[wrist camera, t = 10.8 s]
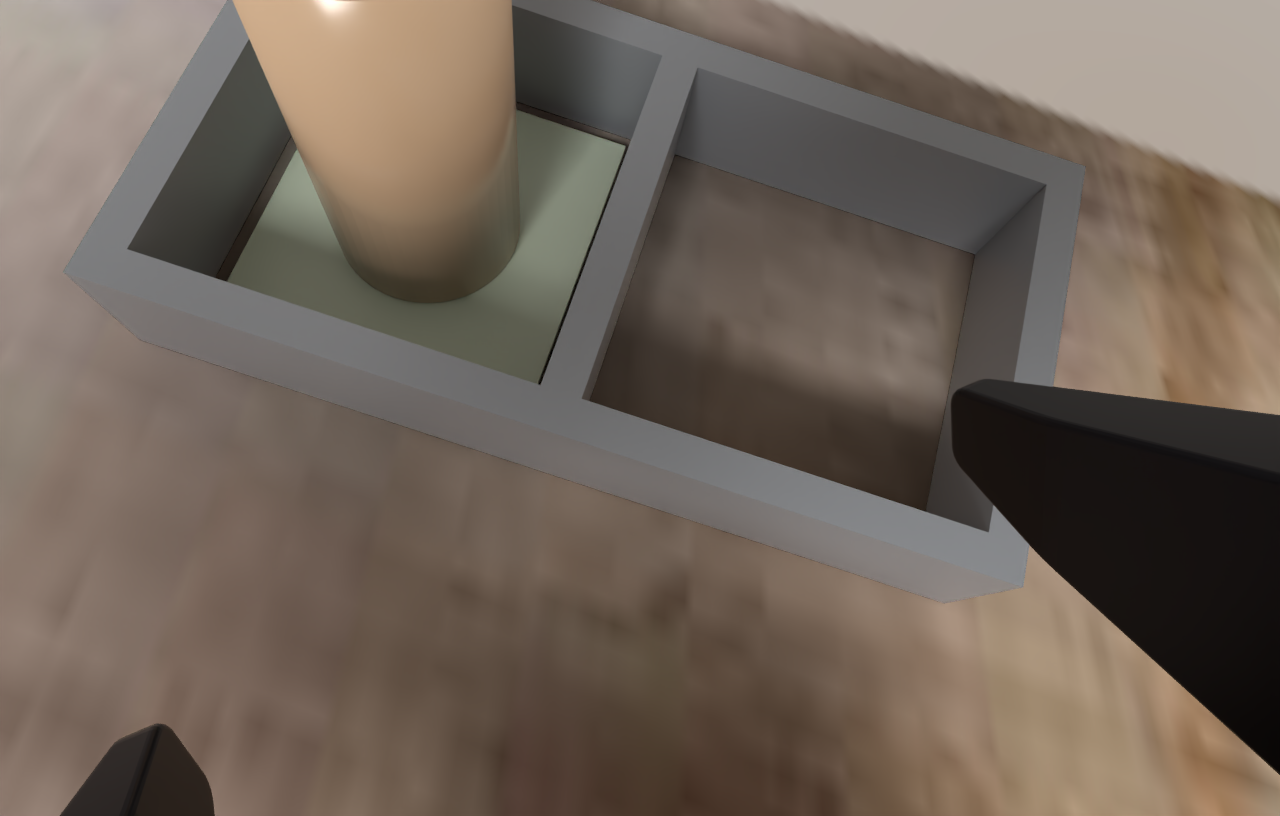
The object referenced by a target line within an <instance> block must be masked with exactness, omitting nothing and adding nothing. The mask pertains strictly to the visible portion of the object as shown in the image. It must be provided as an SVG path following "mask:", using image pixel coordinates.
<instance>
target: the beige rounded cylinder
mask: <svg viewBox="0 0 1280 816" xmlns="http://www.w3.org/2000/svg"><path fill="white" fill-rule="evenodd" d="M232 1H233V3H234V5H235V7H236V10H237V12H238V14H239V17H240V19H241V21H242V23H243V26H244V28H245V30H246V33H247V35H248V37H249V39H250V42H251V44H252V46H253V49H254V51H255V53H256V55H257V58H258V60H259V62H260V65H261V67H262V69H263V71H264V74H265V76H266V78H267V81H268V83H269V85H270V87H271V90H272V92H273V94H274V97H275V99H276V101H277V103H278V106H279V108H280V110H281V113H282V115H283V117H284V119H285V122H286V124H287V126H288V129H289V131H290V133H291V135H292V138H293V140H294V142H295V145H296V147H297V149H298V151H299V154H300V156H301V158H302V161H303V163H304V165H305V167H306V170H307V172H308V174H309V177H310V179H311V181H312V183H313V186H314V188H315V190H316V193H317V195H318V197H319V199H320V202H321V204H322V206H323V209H324V211H325V213H326V215H327V218H328V220H329V222H330V225H331V227H332V229H333V231H334V234H335V236H336V238H337V241H338V243H339V245H340V247H341V250H342V252H343V254H344V256H345V258H346V260H347V261H348V263H349V265H350V266H351V267H352V269H353V270H354V271H355V272H356V273H357V274H358V275H359V276H360V277H361V278H362V279H363V280H364V281H365V282H366V283H368V284H369V285H370V286H372V287H373V288H375V289H377V290H378V291H380V292H382V293H384V294H386V295H389V296H391V297H394V298H397V299H401V300H405V301H410V302H417V303H438V302H446V301H451V300H455V299H458V298H461V297H464V296H467V295H469V294H471V293H474V292H476V291H478V290H479V289H481V288H482V287H484V286H486V285H487V284H488V283H490V282H491V281H492V280H493V279H495V278H496V277H497V276H498V275H499V274H500V273H501V271H502V270H503V269H504V268H505V267H506V265H507V264H508V262H509V261H510V259H511V257H512V255H513V253H514V252H515V249H516V246H517V243H518V240H519V234H520V196H519V171H518V146H517V121H516V96H515V71H514V46H513V21H512V0H232Z"/></svg>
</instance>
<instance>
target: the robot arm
mask: <svg viewBox="0 0 1280 816" xmlns="http://www.w3.org/2000/svg"><path fill="white" fill-rule="evenodd" d="M950 405H951V442H952V451H953V455H954V458H955V460H956V462H957V463H958V465H959V467H960V468H961V469H962V470H963V472H964V473H965V474H966V475H967V476H968V477H969V478H970V479H971V480H972V482H973V483H974V484H975V485H976V486H977V487H978V488H979V489H980V490H981V492H982V493H983V494H984V495H985V496H986V497H987V498H988V499H989V501H990V502H991V503H992V504H993V505H994V506H995V507H996V508H997V509H998V511H999V512H1000V513H1001V514H1002V515H1003V516H1004V517H1005V518H1006V520H1007V521H1008V522H1009V523H1010V524H1011V525H1012V526H1013V527H1014V528H1015V530H1016V531H1017V532H1018V533H1019V534H1020V535H1021V536H1022V537H1023V539H1024V540H1025V541H1026V542H1027V543H1028V544H1029V545H1030V546H1031V547H1032V548H1033V549H1034V550H1035V551H1036V552H1037V553H1038V554H1039V555H1040V557H1041V558H1042V559H1044V560H1045V561H1046V562H1047V563H1048V564H1049V565H1050V566H1051V567H1052V568H1053V569H1054V570H1055V571H1056V572H1057V573H1058V574H1059V575H1060V576H1062V577H1063V578H1064V579H1065V580H1066V581H1067V582H1068V583H1069V584H1070V585H1071V586H1073V587H1074V588H1075V589H1076V590H1077V591H1078V592H1079V593H1080V594H1081V595H1082V596H1084V597H1085V598H1086V599H1087V600H1088V601H1089V602H1090V603H1091V604H1092V605H1093V606H1095V607H1096V608H1097V609H1098V610H1099V611H1100V612H1101V613H1102V614H1103V615H1104V616H1106V617H1107V618H1108V619H1109V620H1110V621H1111V622H1112V623H1113V624H1114V625H1115V626H1117V627H1118V628H1119V629H1120V630H1121V631H1122V632H1123V633H1124V634H1125V635H1126V636H1127V637H1129V638H1130V639H1131V640H1132V641H1133V642H1134V643H1135V644H1136V645H1137V646H1138V647H1140V648H1141V649H1142V650H1143V651H1144V652H1145V653H1146V654H1147V655H1148V656H1149V657H1151V658H1152V659H1153V660H1154V661H1155V662H1156V663H1157V664H1158V665H1159V666H1160V667H1162V668H1163V669H1164V670H1165V671H1166V672H1167V673H1168V674H1169V675H1170V676H1171V677H1173V678H1174V679H1175V680H1176V681H1177V682H1178V683H1179V684H1180V685H1181V686H1182V687H1184V688H1185V689H1186V690H1187V691H1188V692H1189V693H1190V694H1191V695H1192V696H1193V697H1195V698H1196V699H1197V700H1198V701H1199V702H1200V703H1201V704H1202V705H1203V706H1204V707H1206V708H1207V709H1208V710H1209V711H1210V712H1211V713H1212V714H1213V715H1214V716H1215V717H1217V718H1218V719H1219V720H1220V721H1221V722H1222V723H1223V724H1224V725H1225V726H1226V727H1228V728H1229V729H1230V730H1231V731H1232V732H1233V733H1234V734H1235V735H1236V736H1237V737H1239V738H1240V739H1241V740H1242V741H1243V742H1244V743H1245V744H1246V745H1247V746H1248V747H1250V748H1251V749H1252V750H1253V751H1254V752H1255V753H1256V754H1257V755H1258V756H1259V757H1261V758H1262V759H1263V760H1264V761H1265V762H1266V763H1267V764H1268V765H1269V766H1270V767H1272V768H1273V769H1274V770H1275V771H1276V772H1277V773H1278V774H1279V775H1280V415H1274V414H1266V413H1258V412H1250V411H1242V410H1234V409H1226V408H1218V407H1210V406H1202V405H1194V404H1186V403H1178V402H1171V401H1163V400H1155V399H1147V398H1139V397H1131V396H1123V395H1115V394H1107V393H1099V392H1091V391H1083V390H1075V389H1067V388H1059V387H1051V386H1043V385H1035V384H1027V383H1019V382H1011V381H1003V380H995V379H981V380H978V381H976V382H973V383H971V384H968V385H966V386H964V387H961V388H959V389H957V390H956V391H955V392H954V393H953V395H952V398H951V404H950ZM60 816H215V814H214V804H213V797H212V792H211V788H210V785H209V782H208V780H207V778H206V776H205V774H204V773H203V771H202V770H201V769H200V767H199V766H198V765H197V763H196V762H195V760H194V759H193V758H192V756H191V755H190V754H189V752H188V751H187V749H186V748H185V747H184V745H183V744H182V742H181V741H180V740H179V738H178V737H177V736H176V734H175V733H174V732H173V730H172V729H171V728H169V727H168V726H167V725H165V724H154V725H152V726H149V727H147V728H144V729H142V730H140V731H137V732H135V733H132V734H130V735H128V736H125V737H123V738H121V739H119V740H118V741H116V742H115V743H114V744H113V746H112V747H111V748H110V749H109V750H108V752H107V753H106V754H105V756H104V757H103V758H102V760H101V761H100V762H99V764H98V765H97V766H96V768H95V769H94V771H93V772H92V773H91V775H90V776H89V777H88V779H87V780H86V781H85V783H84V784H83V785H82V787H81V788H80V789H79V791H78V792H77V793H76V795H75V796H74V797H73V799H72V800H71V801H70V803H69V804H68V805H67V807H66V808H65V809H64V811H63V812H62V813H61V815H60Z"/></svg>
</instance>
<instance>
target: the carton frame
mask: <svg viewBox="0 0 1280 816" xmlns="http://www.w3.org/2000/svg"><path fill="white" fill-rule="evenodd" d="M512 21H513V46H514V71H515V96H516V101H517V102H520V103H523V104H526V105H529V106H532V107H535V108H538V109H541V110H544V111H547V112H550V113H553V114H556V115H559V116H562V117H565V118H568V119H571V120H574V121H577V122H580V123H583V124H586V125H589V126H592V127H595V128H598V129H601V130H604V131H607V132H610V133H613V134H616V135H619V136H622V137H625V138H628V139H631V142H630V145H629V147H628V150H627V153H626V155H625V158H624V161H623V163H622V166H621V169H620V172H619V174H618V177H617V180H616V182H615V185H614V188H613V191H612V193H611V196H610V199H609V201H608V204H607V207H606V209H605V212H604V215H603V218H602V220H601V223H600V226H599V228H598V231H597V234H596V237H595V239H594V242H593V245H592V247H591V250H590V253H589V255H588V258H587V261H586V264H585V266H584V269H583V272H582V274H581V277H580V280H579V282H578V285H577V288H576V291H575V293H574V296H573V299H572V301H571V304H570V307H569V310H568V312H567V315H566V318H565V320H564V323H563V326H562V328H561V331H560V334H559V337H558V339H557V342H556V345H555V347H554V350H553V353H552V356H551V358H550V361H549V364H548V366H547V369H546V372H545V374H544V377H543V380H542V383H541V385H539V382H540V379H541V376H542V374H543V371H544V368H545V366H546V363H547V360H548V357H549V355H550V352H551V349H552V347H553V344H554V341H555V339H556V336H557V333H558V330H559V328H560V325H561V322H562V320H563V317H564V314H565V312H566V309H567V306H568V304H569V301H570V298H571V295H572V293H573V290H574V287H575V285H576V282H577V279H578V277H579V274H580V271H581V268H582V266H583V263H584V260H585V258H586V255H587V252H588V250H589V247H590V244H591V241H592V239H593V236H594V233H595V231H596V228H597V225H598V223H599V220H600V217H601V214H602V212H603V209H604V206H605V204H606V201H607V198H608V196H609V193H610V190H611V187H612V185H613V182H614V179H615V177H616V174H617V171H618V169H619V166H620V163H621V161H622V158H623V155H624V152H625V147H626V146H624V145H621V144H618V143H615V142H612V141H609V140H606V139H603V138H600V137H597V136H594V135H591V134H588V133H585V132H582V131H579V130H576V129H573V128H570V127H567V126H564V125H561V124H558V123H555V122H552V121H549V120H546V119H543V118H540V117H537V116H534V115H531V114H528V113H525V112H522V111H519V110H516V121H517V146H518V171H519V196H520V234H519V240H518V243H517V246H516V249H515V252H514V253H513V255H512V257H511V259H510V261H509V262H508V264H507V265H506V267H505V268H504V269H503V270H502V271H501V273H500V274H499V275H498V276H497V277H496V278H495V279H493V280H492V281H491V282H490V283H488V284H487V285H486V286H484V287H482V288H481V289H479V290H478V291H476V292H474V293H471V294H469V295H467V296H464V297H461V298H458V299H455V300H451V301H446V302H438V303H417V302H410V301H405V300H401V299H397V298H394V297H391V296H389V295H386V294H384V293H382V292H380V291H378V290H377V289H375V288H373V287H372V286H370V285H369V284H368V283H366V282H365V281H364V280H363V279H362V278H361V277H360V276H359V275H358V274H357V273H356V272H355V271H354V270H353V269H352V267H351V266H350V265H349V263H348V261H347V260H346V258H345V256H344V254H343V252H342V250H341V247H340V245H339V243H338V241H337V238H336V236H335V234H334V231H333V229H332V227H331V225H330V222H329V220H328V218H327V215H326V213H325V211H324V209H323V206H322V204H321V202H320V199H319V197H318V195H317V193H316V190H315V188H314V186H313V183H312V181H311V179H310V177H309V174H308V172H307V170H306V167H305V165H304V163H303V161H302V158H301V156H300V154H299V151H298V149H297V150H296V151H295V153H294V155H293V157H292V159H291V161H290V163H289V165H288V167H287V168H286V170H285V172H284V174H283V176H282V178H281V180H280V182H279V184H278V186H277V187H276V189H275V191H274V193H273V195H272V197H271V199H270V201H269V203H268V204H267V206H266V208H265V210H264V212H263V214H262V216H261V218H260V220H259V221H258V223H257V225H256V227H255V229H254V231H253V233H252V235H251V237H250V239H249V240H248V242H247V244H246V246H245V248H244V250H243V252H242V254H241V256H240V257H239V259H238V261H237V263H236V265H235V267H234V269H233V271H232V273H231V274H230V276H229V278H228V280H227V282H226V281H223V280H220V279H216V278H215V277H216V275H217V273H218V271H219V269H220V267H221V265H222V263H223V262H224V260H225V258H226V256H227V254H228V252H229V250H230V248H231V247H232V245H233V243H234V241H235V239H236V237H237V235H238V233H239V232H240V230H241V228H242V226H243V224H244V222H245V220H246V219H247V217H248V215H249V213H250V211H251V209H252V207H253V205H254V204H255V202H256V200H257V198H258V196H259V194H260V192H261V190H262V189H263V187H264V185H265V183H266V181H267V179H268V177H269V176H270V174H271V172H272V170H273V168H274V166H275V164H276V162H277V161H278V159H279V157H280V155H281V153H282V151H283V149H284V147H285V146H286V144H287V142H288V140H289V138H290V136H291V133H290V131H289V129H288V126H287V124H286V122H285V119H284V117H283V115H282V113H281V110H280V108H279V106H278V103H277V101H276V99H275V97H274V94H273V92H272V90H271V87H270V85H269V83H268V81H267V78H266V76H265V74H264V71H263V69H262V67H261V65H260V62H259V60H258V58H257V55H256V53H255V51H254V49H253V46H252V44H251V42H250V39H249V37H248V35H247V33H246V30H245V28H244V26H243V23H242V21H241V19H240V17H239V14H238V12H237V10H236V7H235V5H234V3H233V1H232V0H227V2H226V3H225V5H224V7H223V8H222V10H221V12H220V13H219V15H218V16H217V18H216V20H215V21H214V23H213V25H212V26H211V28H210V30H209V31H208V33H207V35H206V36H205V38H204V40H203V41H202V43H201V45H200V46H199V48H198V50H197V51H196V53H195V55H194V56H193V58H192V59H191V61H190V63H189V64H188V66H187V68H186V69H185V71H184V73H183V74H182V76H181V78H180V79H179V81H178V83H177V84H176V86H175V88H174V89H173V91H172V93H171V94H170V96H169V98H168V99H167V101H166V102H165V104H164V106H163V107H162V109H161V111H160V112H159V114H158V116H157V117H156V119H155V121H154V122H153V124H152V126H151V127H150V129H149V131H148V132H147V134H146V136H145V137H144V139H143V141H142V142H141V144H140V145H139V147H138V149H137V150H136V152H135V154H134V155H133V157H132V159H131V160H130V162H129V164H128V165H127V167H126V169H125V170H124V172H123V174H122V175H121V177H120V179H119V180H118V182H117V184H116V185H115V187H114V188H113V190H112V192H111V193H110V195H109V197H108V198H107V200H106V202H105V203H104V205H103V207H102V208H101V210H100V212H99V213H98V215H97V217H96V218H95V220H94V222H93V223H92V225H91V227H90V228H89V230H88V231H87V233H86V235H85V236H84V238H83V240H82V241H81V243H80V245H79V246H78V248H77V250H76V251H75V253H74V255H73V256H72V258H71V260H70V261H69V263H68V265H67V266H66V268H65V269H64V271H63V273H64V274H66V275H67V276H68V277H69V278H70V279H71V280H72V281H74V282H75V283H76V284H77V285H78V286H79V287H80V288H82V289H83V290H84V291H85V292H86V293H87V294H88V295H89V296H91V297H92V298H93V299H94V300H95V301H96V302H97V303H99V304H100V305H101V306H102V307H103V308H104V309H105V310H107V311H108V312H109V313H110V314H111V315H112V316H113V317H114V318H116V319H117V320H118V321H119V322H120V323H121V324H122V325H124V326H125V327H126V328H127V329H128V330H129V331H130V332H132V333H133V334H134V335H135V336H136V337H137V338H138V339H140V340H142V341H145V342H148V343H151V344H154V345H157V346H160V347H163V348H166V349H169V350H172V351H175V352H178V353H181V354H185V355H188V356H191V357H194V358H197V359H200V360H203V361H206V362H209V363H212V364H215V365H218V366H221V367H224V368H227V369H230V370H233V371H236V372H240V373H243V374H246V375H249V376H252V377H255V378H258V379H261V380H264V381H267V382H270V383H273V384H276V385H279V386H282V387H285V388H288V389H291V390H294V391H298V392H301V393H304V394H307V395H310V396H313V397H316V398H319V399H322V400H325V401H328V402H331V403H334V404H337V405H340V406H343V407H346V408H349V409H352V410H356V411H359V412H362V413H365V414H368V415H371V416H374V417H377V418H380V419H383V420H386V421H389V422H392V423H395V424H398V425H401V426H404V427H407V428H411V429H414V430H417V431H420V432H423V433H426V434H429V435H432V436H435V437H438V438H441V439H444V440H447V441H450V442H453V443H456V444H459V445H462V446H465V447H469V448H472V449H475V450H478V451H481V452H484V453H487V454H490V455H493V456H496V457H499V458H502V459H505V460H508V461H511V462H514V463H517V464H520V465H523V466H527V467H530V468H533V469H536V470H539V471H542V472H545V473H548V474H551V475H554V476H557V477H560V478H563V479H566V480H569V481H572V482H575V483H578V484H582V485H585V486H588V487H591V488H594V489H597V490H600V491H603V492H606V493H609V494H612V495H615V496H618V497H621V498H624V499H627V500H630V501H633V502H636V503H640V504H643V505H646V506H649V507H652V508H655V509H658V510H661V511H664V512H667V513H670V514H673V515H676V516H679V517H682V518H685V519H688V520H691V521H694V522H698V523H701V524H704V525H707V526H710V527H713V528H716V529H719V530H722V531H725V532H728V533H731V534H734V535H737V536H740V537H743V538H746V539H749V540H753V541H756V542H759V543H762V544H765V545H768V546H771V547H774V548H777V549H780V550H783V551H786V552H789V553H792V554H795V555H798V556H801V557H804V558H807V559H811V560H814V561H817V562H820V563H823V564H826V565H829V566H832V567H835V568H838V569H841V570H844V571H847V572H850V573H853V574H856V575H859V576H862V577H865V578H869V579H872V580H875V581H878V582H881V583H884V584H887V585H890V586H893V587H896V588H899V589H902V590H905V591H908V592H911V593H914V594H917V595H920V596H924V597H927V598H930V599H933V600H936V601H939V602H942V603H949V602H954V601H959V600H964V599H968V598H973V597H978V596H983V595H988V594H993V593H998V592H1002V591H1007V590H1012V589H1017V588H1022V587H1023V584H1024V578H1025V571H1026V564H1027V557H1028V551H1029V544H1028V543H1027V542H1026V541H1025V540H1024V539H1023V537H1022V536H1021V535H1020V534H1019V533H1018V532H1017V531H1016V530H1015V528H1014V527H1013V526H1012V525H1011V524H1010V523H1009V522H1008V521H1007V520H1006V518H1005V517H1004V516H1003V515H1002V514H1001V513H1000V512H999V511H998V509H997V508H996V507H995V506H994V505H993V504H992V503H991V502H990V501H989V499H988V498H987V497H986V496H985V495H984V494H983V493H982V492H981V490H980V489H979V488H978V487H977V486H976V485H975V484H974V483H973V482H972V480H971V479H970V478H969V477H968V476H967V475H966V474H965V473H964V472H963V470H962V469H961V468H960V467H959V465H958V463H957V462H956V460H955V458H954V455H953V451H952V442H951V405H950V404H951V398H952V395H953V393H954V392H955V391H956V390H957V389H959V388H961V387H964V386H966V385H968V384H971V383H973V382H976V381H978V380H981V379H995V380H1003V381H1011V382H1019V383H1027V384H1035V385H1043V386H1051V387H1053V383H1054V376H1055V369H1056V363H1057V356H1058V349H1059V343H1060V336H1061V329H1062V322H1063V316H1064V309H1065V302H1066V296H1067V289H1068V282H1069V275H1070V269H1071V262H1072V255H1073V249H1074V242H1075V235H1076V228H1077V222H1078V215H1079V208H1080V202H1081V195H1082V188H1083V181H1084V175H1085V168H1086V166H1083V165H1080V164H1077V163H1074V162H1071V161H1068V160H1065V159H1062V158H1059V157H1056V156H1053V155H1050V154H1047V153H1044V152H1041V151H1038V150H1035V149H1033V148H1030V147H1027V146H1024V145H1021V144H1018V143H1015V142H1012V141H1009V140H1006V139H1003V138H1000V137H997V136H994V135H991V134H988V133H985V132H982V131H979V130H976V129H973V128H970V127H967V126H964V125H961V124H958V123H955V122H952V121H949V120H946V119H943V118H940V117H937V116H934V115H931V114H928V113H925V112H922V111H919V110H916V109H913V108H910V107H908V106H905V105H902V104H899V103H896V102H893V101H890V100H887V99H884V98H881V97H878V96H875V95H872V94H869V93H866V92H863V91H860V90H857V89H854V88H851V87H848V86H845V85H842V84H839V83H836V82H833V81H830V80H827V79H824V78H821V77H818V76H815V75H812V74H809V73H806V72H803V71H800V70H797V69H794V68H791V67H788V66H785V65H783V64H780V63H777V62H774V61H771V60H768V59H765V58H762V57H759V56H756V55H753V54H750V53H747V52H744V51H741V50H738V49H735V48H732V47H729V46H726V45H723V44H720V43H717V42H714V41H711V40H708V39H705V38H702V37H699V36H696V35H693V34H690V33H687V32H684V31H681V30H678V29H675V28H672V27H669V26H666V25H663V24H660V23H658V22H655V21H652V20H649V19H646V18H643V17H640V16H637V15H634V14H631V13H628V12H625V11H622V10H619V9H616V8H613V7H610V6H607V5H604V4H601V3H598V2H595V1H592V0H512ZM675 154H676V155H679V156H682V157H685V158H687V159H690V160H693V161H696V162H699V163H702V164H705V165H708V166H711V167H714V168H717V169H720V170H723V171H726V172H729V173H732V174H735V175H738V176H741V177H744V178H747V179H750V180H753V181H756V182H759V183H762V184H765V185H768V186H771V187H774V188H777V189H780V190H783V191H786V192H789V193H792V194H795V195H798V196H801V197H804V198H807V199H810V200H813V201H816V202H819V203H822V204H825V205H828V206H831V207H834V208H837V209H840V210H843V211H846V212H849V213H852V214H855V215H858V216H861V217H864V218H867V219H870V220H873V221H876V222H879V223H882V224H885V225H888V226H891V227H894V228H897V229H900V230H903V231H906V232H909V233H912V234H915V235H918V236H921V237H924V238H927V239H930V240H933V241H936V242H939V243H942V244H945V245H948V246H951V247H954V248H957V249H960V250H963V251H966V252H969V253H972V254H975V259H974V264H973V269H972V274H971V279H970V285H969V290H968V295H967V300H966V305H965V310H964V316H963V321H962V326H961V331H960V336H959V341H958V347H957V352H956V357H955V362H954V367H953V372H952V378H951V383H950V388H949V393H948V398H947V404H946V409H945V414H944V419H943V424H942V429H941V435H940V440H939V445H938V450H937V455H936V460H935V466H934V471H933V476H932V481H931V486H930V491H929V497H928V502H927V507H926V512H925V511H922V510H919V509H916V508H913V507H910V506H906V505H903V504H900V503H897V502H894V501H891V500H888V499H885V498H882V497H879V496H876V495H873V494H870V493H867V492H864V491H861V490H858V489H855V488H852V487H849V486H846V485H843V484H840V483H837V482H834V481H830V480H827V479H824V478H821V477H818V476H815V475H812V474H809V473H806V472H803V471H800V470H797V469H794V468H791V467H788V466H785V465H782V464H779V463H776V462H773V461H770V460H767V459H764V458H761V457H758V456H755V455H751V454H748V453H745V452H742V451H739V450H736V449H733V448H730V447H727V446H724V445H721V444H718V443H715V442H712V441H709V440H706V439H703V438H700V437H697V436H694V435H691V434H688V433H685V432H682V431H679V430H675V429H672V428H669V427H666V426H663V425H660V424H657V423H654V422H651V421H648V420H645V419H642V418H639V417H636V416H633V415H630V414H627V413H624V412H621V411H618V410H615V409H612V408H609V407H606V406H603V405H599V404H596V403H593V402H590V398H591V395H592V392H593V389H594V386H595V383H596V380H597V377H598V375H599V372H600V369H601V366H602V363H603V360H604V357H605V354H606V351H607V349H608V346H609V343H610V340H611V337H612V334H613V331H614V328H615V325H616V323H617V320H618V317H619V314H620V311H621V308H622V305H623V302H624V299H625V297H626V294H627V291H628V288H629V285H630V282H631V279H632V276H633V273H634V271H635V268H636V265H637V262H638V259H639V256H640V253H641V250H642V247H643V245H644V242H645V239H646V236H647V233H648V230H649V227H650V224H651V221H652V219H653V216H654V213H655V210H656V207H657V204H658V201H659V198H660V196H661V193H662V190H663V187H664V184H665V181H666V178H667V175H668V172H669V170H670V167H671V164H672V161H673V158H674V155H675Z"/></svg>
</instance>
